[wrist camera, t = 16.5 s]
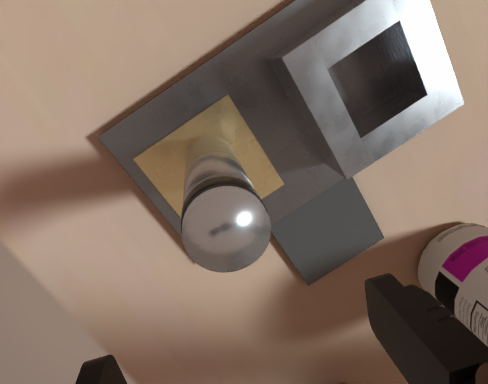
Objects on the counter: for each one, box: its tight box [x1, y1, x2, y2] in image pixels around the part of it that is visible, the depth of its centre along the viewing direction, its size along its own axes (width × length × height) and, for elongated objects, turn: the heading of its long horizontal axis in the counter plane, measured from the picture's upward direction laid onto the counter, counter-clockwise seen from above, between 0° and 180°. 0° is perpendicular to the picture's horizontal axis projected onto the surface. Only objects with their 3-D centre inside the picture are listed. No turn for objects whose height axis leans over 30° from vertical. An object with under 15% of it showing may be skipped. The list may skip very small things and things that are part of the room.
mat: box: [271, 177, 384, 286], centre depth 30 cm, size 8×8×1 cm
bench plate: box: [98, 0, 464, 237], centre depth 24 cm, size 13×24×5 cm, turn 122°
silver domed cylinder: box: [181, 135, 271, 272], centre depth 19 cm, size 4×4×12 cm
